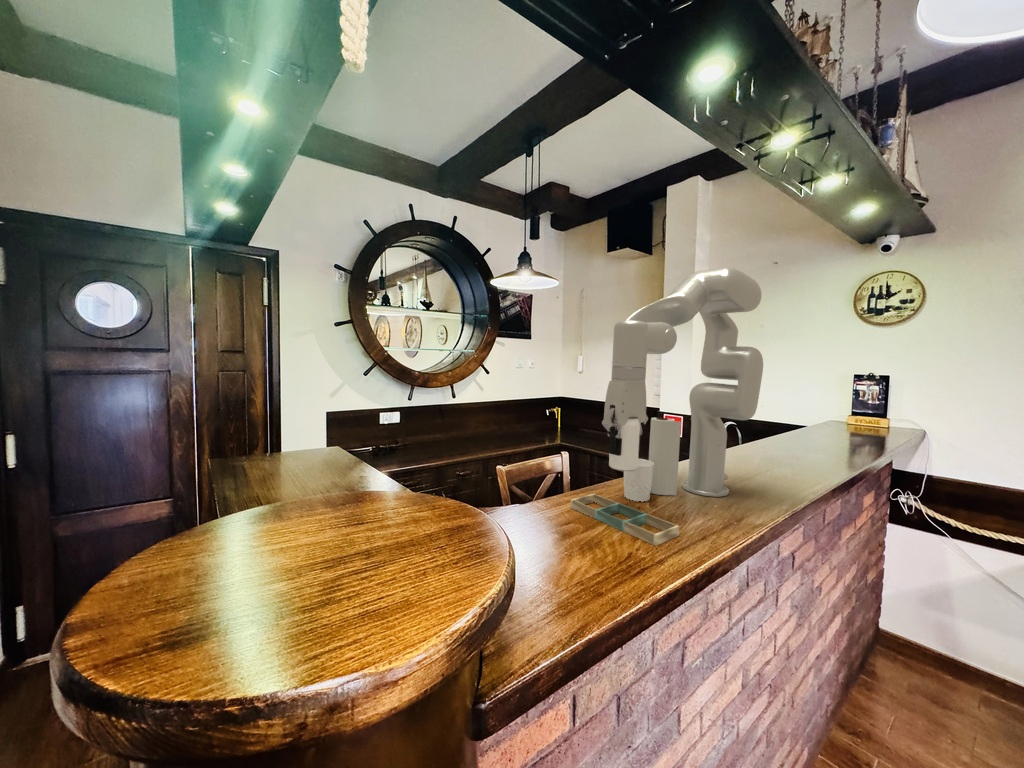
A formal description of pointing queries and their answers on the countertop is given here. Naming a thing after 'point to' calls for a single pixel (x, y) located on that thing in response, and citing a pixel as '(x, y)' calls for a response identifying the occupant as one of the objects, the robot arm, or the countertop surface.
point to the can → (627, 447)
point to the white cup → (639, 481)
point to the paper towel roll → (664, 455)
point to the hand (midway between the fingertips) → (624, 452)
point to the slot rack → (630, 524)
